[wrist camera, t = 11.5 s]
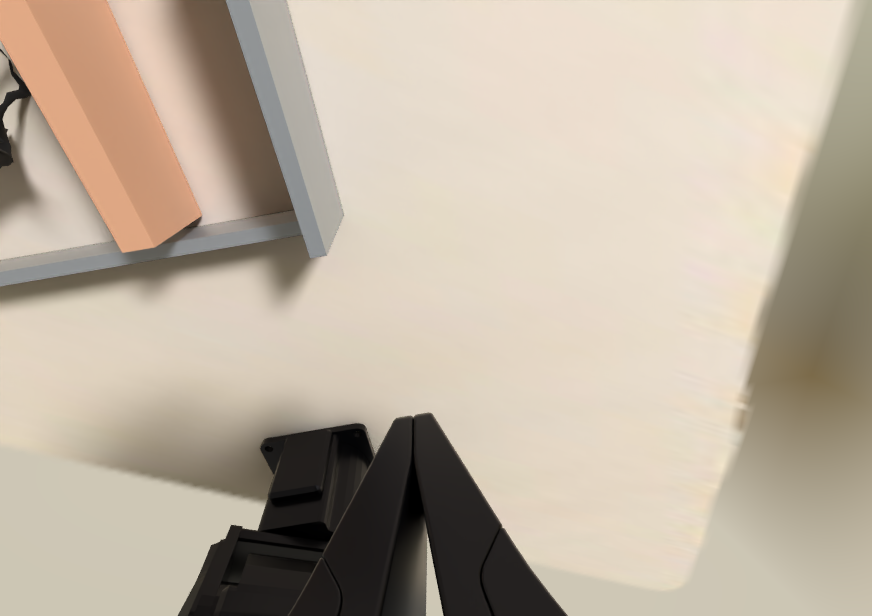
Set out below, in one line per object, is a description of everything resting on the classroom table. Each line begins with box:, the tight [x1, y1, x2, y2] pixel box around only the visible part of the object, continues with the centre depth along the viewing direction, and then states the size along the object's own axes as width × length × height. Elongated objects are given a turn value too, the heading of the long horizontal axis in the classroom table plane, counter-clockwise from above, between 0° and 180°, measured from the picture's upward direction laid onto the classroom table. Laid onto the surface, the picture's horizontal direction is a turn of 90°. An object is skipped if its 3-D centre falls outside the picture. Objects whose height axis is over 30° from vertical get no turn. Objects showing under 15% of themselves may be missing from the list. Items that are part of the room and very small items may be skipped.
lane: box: [0, 0, 344, 286], centre depth 14 cm, size 14×18×5 cm
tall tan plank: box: [0, 0, 202, 253], centre depth 14 cm, size 10×1×4 cm, turn 9°
